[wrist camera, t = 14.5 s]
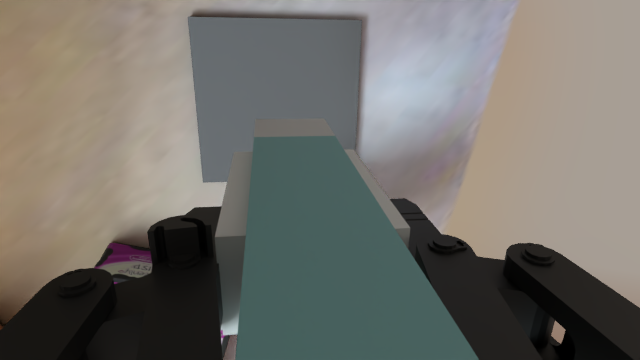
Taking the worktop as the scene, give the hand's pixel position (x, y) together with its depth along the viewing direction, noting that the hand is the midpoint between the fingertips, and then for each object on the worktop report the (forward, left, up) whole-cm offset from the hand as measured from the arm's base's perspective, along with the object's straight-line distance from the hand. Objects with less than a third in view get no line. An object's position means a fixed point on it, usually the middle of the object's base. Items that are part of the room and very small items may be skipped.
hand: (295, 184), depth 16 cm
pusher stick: (0, 0, -3) cm, 3 cm away
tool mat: (0, 0, -17) cm, 17 cm away
